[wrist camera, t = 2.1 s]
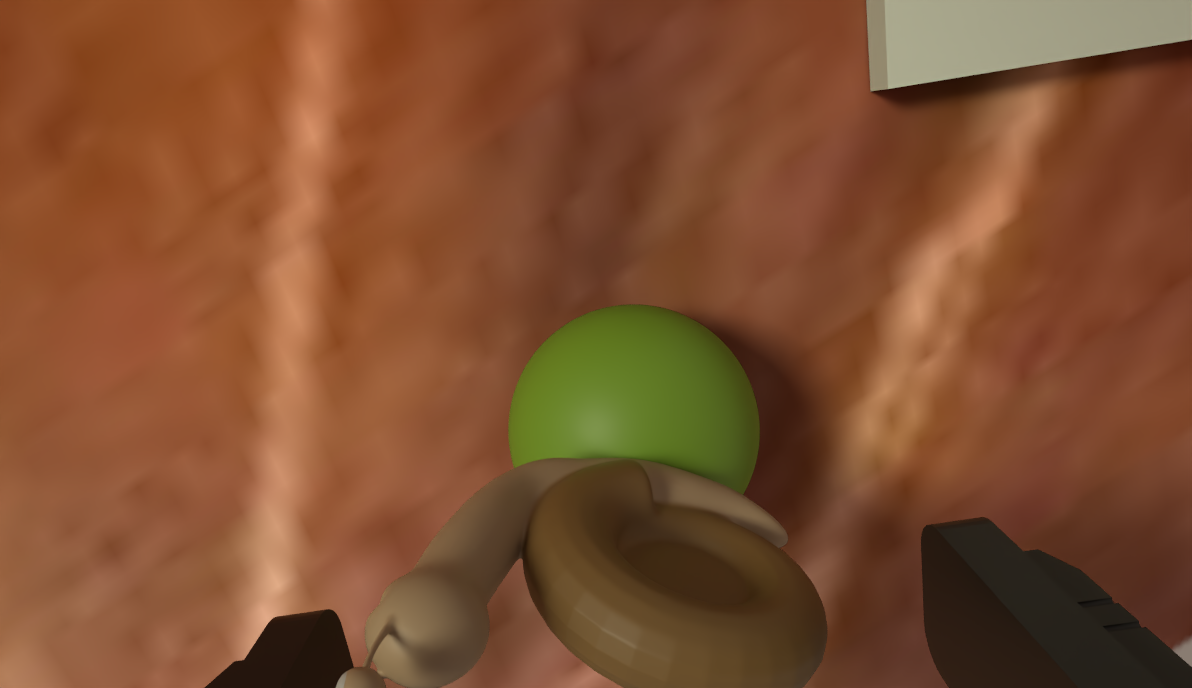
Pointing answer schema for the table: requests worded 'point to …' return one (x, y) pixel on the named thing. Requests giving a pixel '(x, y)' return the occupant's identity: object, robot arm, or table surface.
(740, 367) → the snail figurine
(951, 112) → the table surface
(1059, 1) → the collar stand
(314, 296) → the table surface
